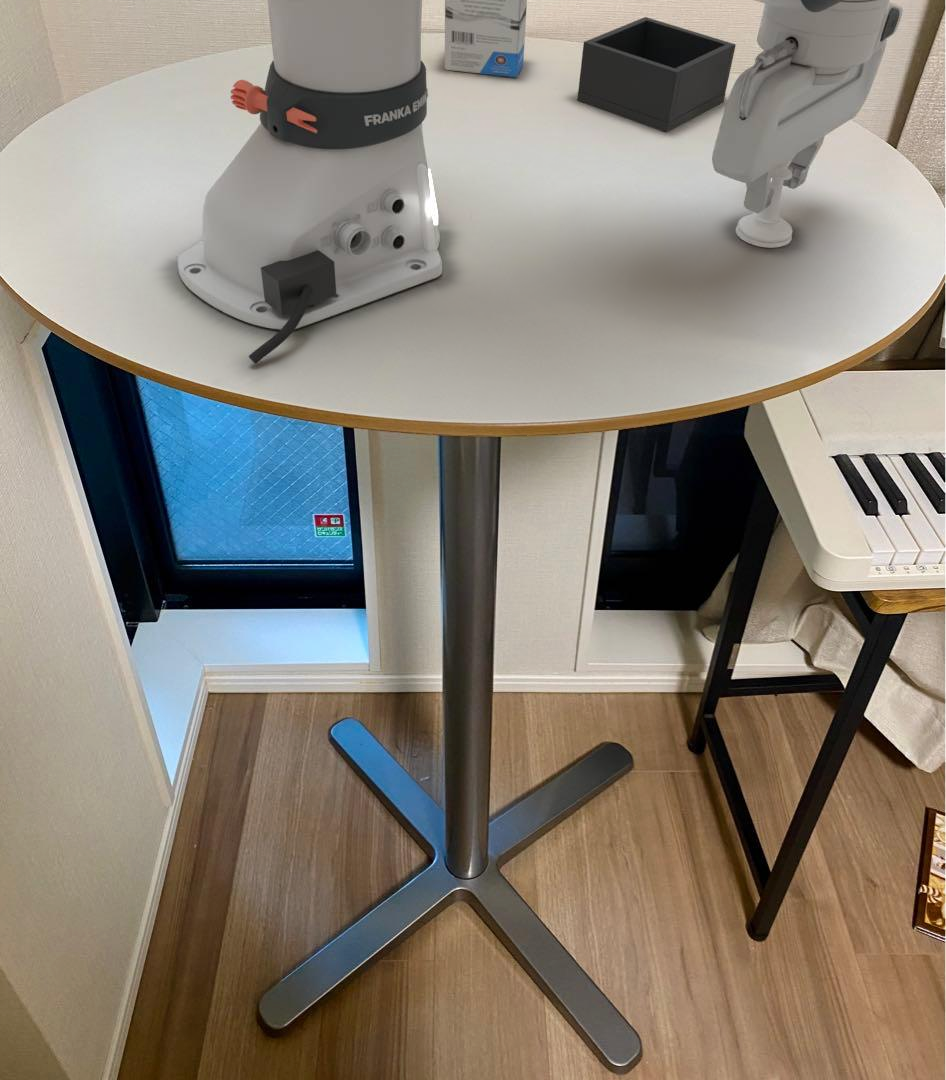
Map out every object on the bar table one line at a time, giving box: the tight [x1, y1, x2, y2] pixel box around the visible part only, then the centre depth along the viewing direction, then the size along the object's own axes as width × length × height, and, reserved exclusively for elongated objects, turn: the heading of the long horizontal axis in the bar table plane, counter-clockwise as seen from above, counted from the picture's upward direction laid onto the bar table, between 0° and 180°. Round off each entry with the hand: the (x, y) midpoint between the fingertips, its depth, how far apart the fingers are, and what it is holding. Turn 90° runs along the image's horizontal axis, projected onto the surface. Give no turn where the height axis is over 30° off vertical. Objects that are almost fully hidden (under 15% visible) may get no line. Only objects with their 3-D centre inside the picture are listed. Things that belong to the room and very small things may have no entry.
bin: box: [576, 16, 736, 133], centre depth 107 cm, size 12×12×6 cm
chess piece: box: [735, 155, 795, 249], centre depth 85 cm, size 5×5×10 cm
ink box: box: [444, 0, 528, 78], centre depth 110 cm, size 9×5×12 cm, turn 77°
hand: (773, 196), depth 86 cm, fingers open, 5 cm apart
